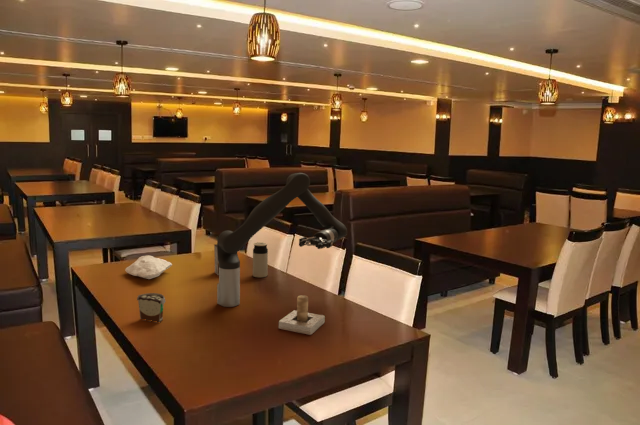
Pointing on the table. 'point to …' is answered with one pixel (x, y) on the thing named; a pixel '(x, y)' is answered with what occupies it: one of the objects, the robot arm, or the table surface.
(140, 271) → the crumpled cloth
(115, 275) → the table surface
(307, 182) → the robot arm
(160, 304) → the food container
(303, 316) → the peg
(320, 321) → the beige flat square frame
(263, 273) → the travel mug
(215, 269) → the coffee box
